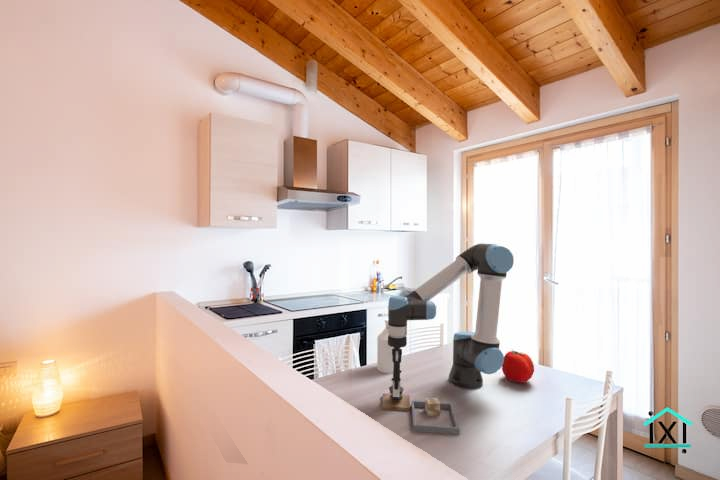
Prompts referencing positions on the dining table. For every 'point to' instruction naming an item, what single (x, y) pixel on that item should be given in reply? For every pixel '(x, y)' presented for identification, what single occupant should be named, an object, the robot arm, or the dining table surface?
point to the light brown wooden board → (396, 403)
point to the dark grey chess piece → (392, 393)
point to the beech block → (432, 406)
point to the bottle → (384, 352)
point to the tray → (431, 427)
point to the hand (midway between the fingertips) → (396, 392)
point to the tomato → (517, 367)
